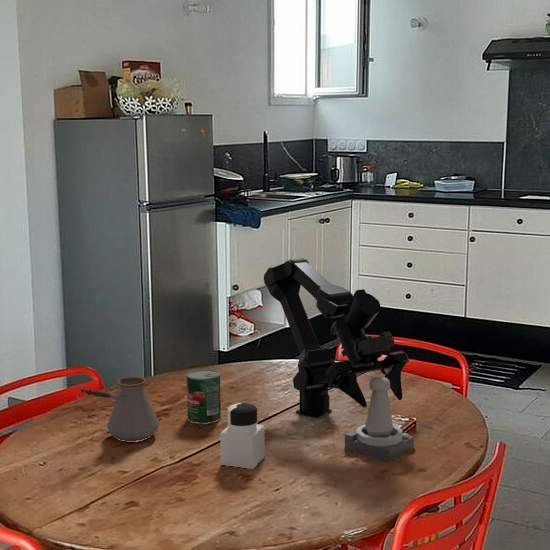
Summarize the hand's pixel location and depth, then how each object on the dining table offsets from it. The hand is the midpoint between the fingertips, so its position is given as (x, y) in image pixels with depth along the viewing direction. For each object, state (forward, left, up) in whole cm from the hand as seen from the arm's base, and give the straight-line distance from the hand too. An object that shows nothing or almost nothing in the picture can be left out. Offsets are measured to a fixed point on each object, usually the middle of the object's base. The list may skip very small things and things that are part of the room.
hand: (383, 402), depth 179 cm
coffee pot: (-48, -32, -11) cm, 58 cm away
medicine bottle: (-20, -23, -11) cm, 32 cm away
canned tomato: (-44, -9, -11) cm, 46 cm away
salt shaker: (-1, +1, -8) cm, 8 cm away
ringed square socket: (-1, 0, -11) cm, 11 cm away
